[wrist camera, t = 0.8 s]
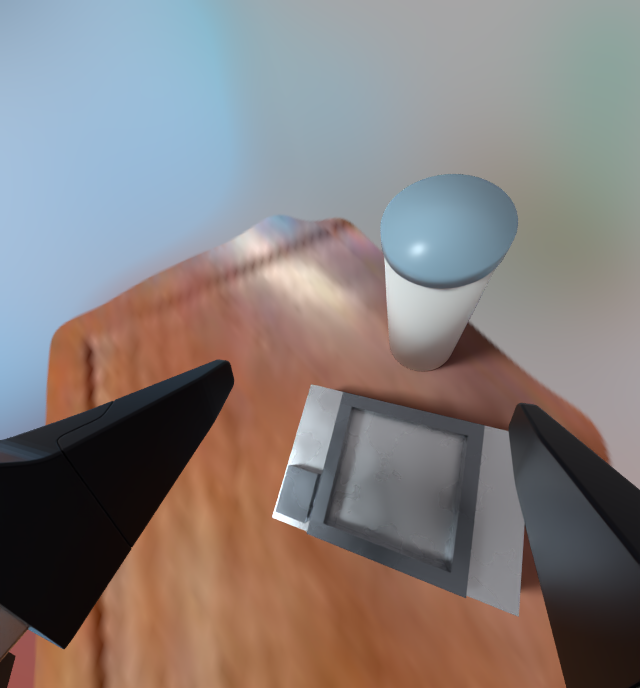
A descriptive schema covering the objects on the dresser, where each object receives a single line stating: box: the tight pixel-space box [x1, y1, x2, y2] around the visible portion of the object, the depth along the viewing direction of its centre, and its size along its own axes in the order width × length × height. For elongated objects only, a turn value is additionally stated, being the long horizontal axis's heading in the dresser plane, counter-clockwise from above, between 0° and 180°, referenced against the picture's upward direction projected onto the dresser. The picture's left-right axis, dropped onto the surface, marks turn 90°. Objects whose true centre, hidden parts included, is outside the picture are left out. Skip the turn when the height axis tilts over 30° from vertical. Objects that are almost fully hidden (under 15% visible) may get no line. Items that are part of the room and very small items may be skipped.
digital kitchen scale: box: [272, 384, 525, 617], centre depth 19 cm, size 9×14×4 cm, turn 74°
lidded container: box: [381, 174, 518, 371], centre depth 18 cm, size 5×5×13 cm
